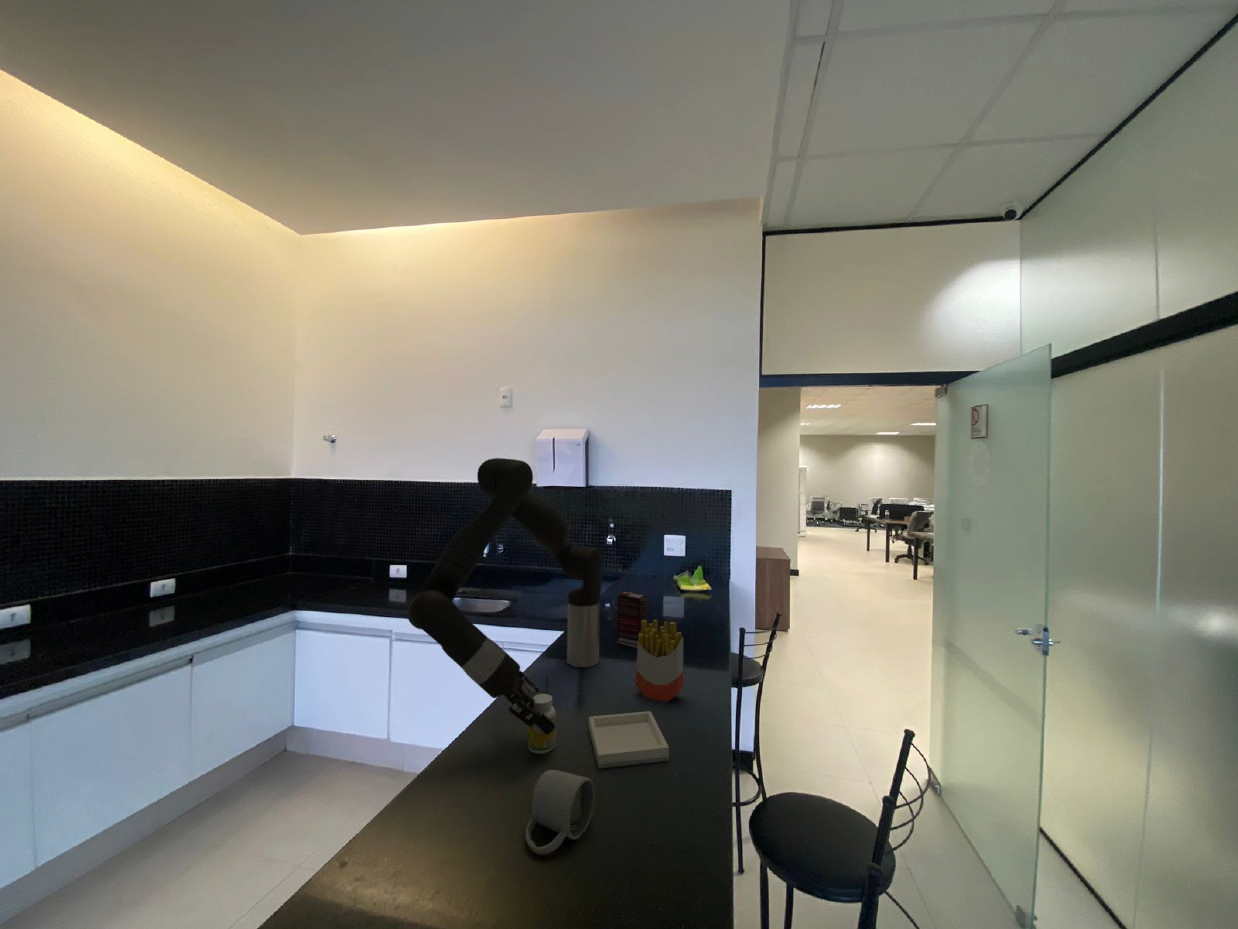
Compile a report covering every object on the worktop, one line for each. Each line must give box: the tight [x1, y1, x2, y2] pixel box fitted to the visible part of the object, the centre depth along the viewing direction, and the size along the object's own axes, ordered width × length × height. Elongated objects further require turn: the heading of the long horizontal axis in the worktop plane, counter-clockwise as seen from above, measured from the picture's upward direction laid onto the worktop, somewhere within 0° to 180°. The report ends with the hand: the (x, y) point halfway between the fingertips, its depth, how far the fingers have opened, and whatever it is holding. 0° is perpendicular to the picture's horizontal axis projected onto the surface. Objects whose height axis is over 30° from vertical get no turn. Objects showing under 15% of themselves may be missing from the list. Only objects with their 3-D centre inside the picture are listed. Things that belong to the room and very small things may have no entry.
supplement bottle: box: [527, 693, 556, 755], centre depth 93 cm, size 5×5×10 cm
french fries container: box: [635, 619, 684, 703], centre depth 114 cm, size 5×11×18 cm, turn 66°
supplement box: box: [616, 591, 648, 649], centre depth 148 cm, size 9×5×16 cm, turn 58°
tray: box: [588, 710, 670, 769], centre depth 94 cm, size 14×14×2 cm
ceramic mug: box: [525, 769, 596, 852], centre depth 71 cm, size 11×8×8 cm
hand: (550, 722), depth 93 cm, fingers closed on supplement bottle, 5 cm apart
